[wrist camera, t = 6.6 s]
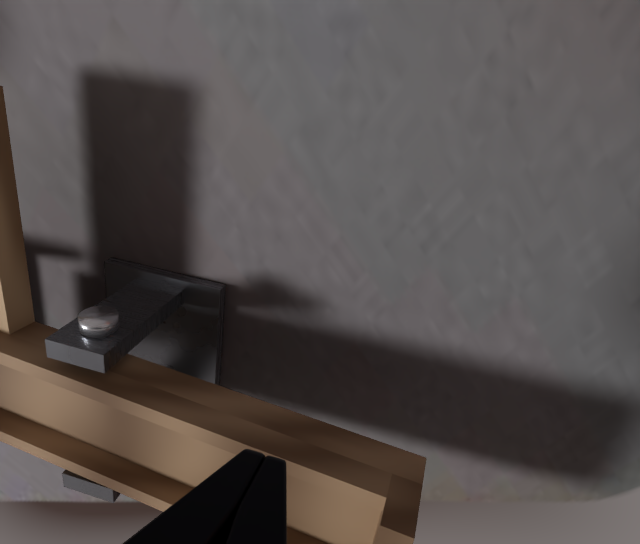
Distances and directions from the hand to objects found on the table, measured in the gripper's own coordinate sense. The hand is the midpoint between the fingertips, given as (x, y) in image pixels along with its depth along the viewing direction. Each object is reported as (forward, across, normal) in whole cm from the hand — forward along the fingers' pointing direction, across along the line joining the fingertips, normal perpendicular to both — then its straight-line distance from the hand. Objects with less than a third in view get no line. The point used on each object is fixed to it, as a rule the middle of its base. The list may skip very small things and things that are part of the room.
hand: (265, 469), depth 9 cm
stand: (+12, +9, +7) cm, 16 cm away
